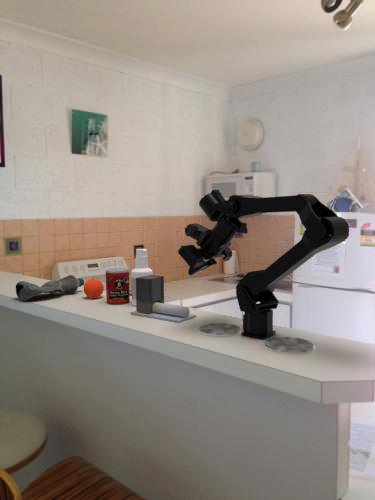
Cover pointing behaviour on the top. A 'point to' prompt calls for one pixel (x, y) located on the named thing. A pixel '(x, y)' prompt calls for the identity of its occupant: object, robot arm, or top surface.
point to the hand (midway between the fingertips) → (189, 274)
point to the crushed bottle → (48, 287)
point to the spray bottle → (139, 270)
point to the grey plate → (167, 312)
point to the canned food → (117, 286)
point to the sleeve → (149, 292)
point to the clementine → (93, 288)
